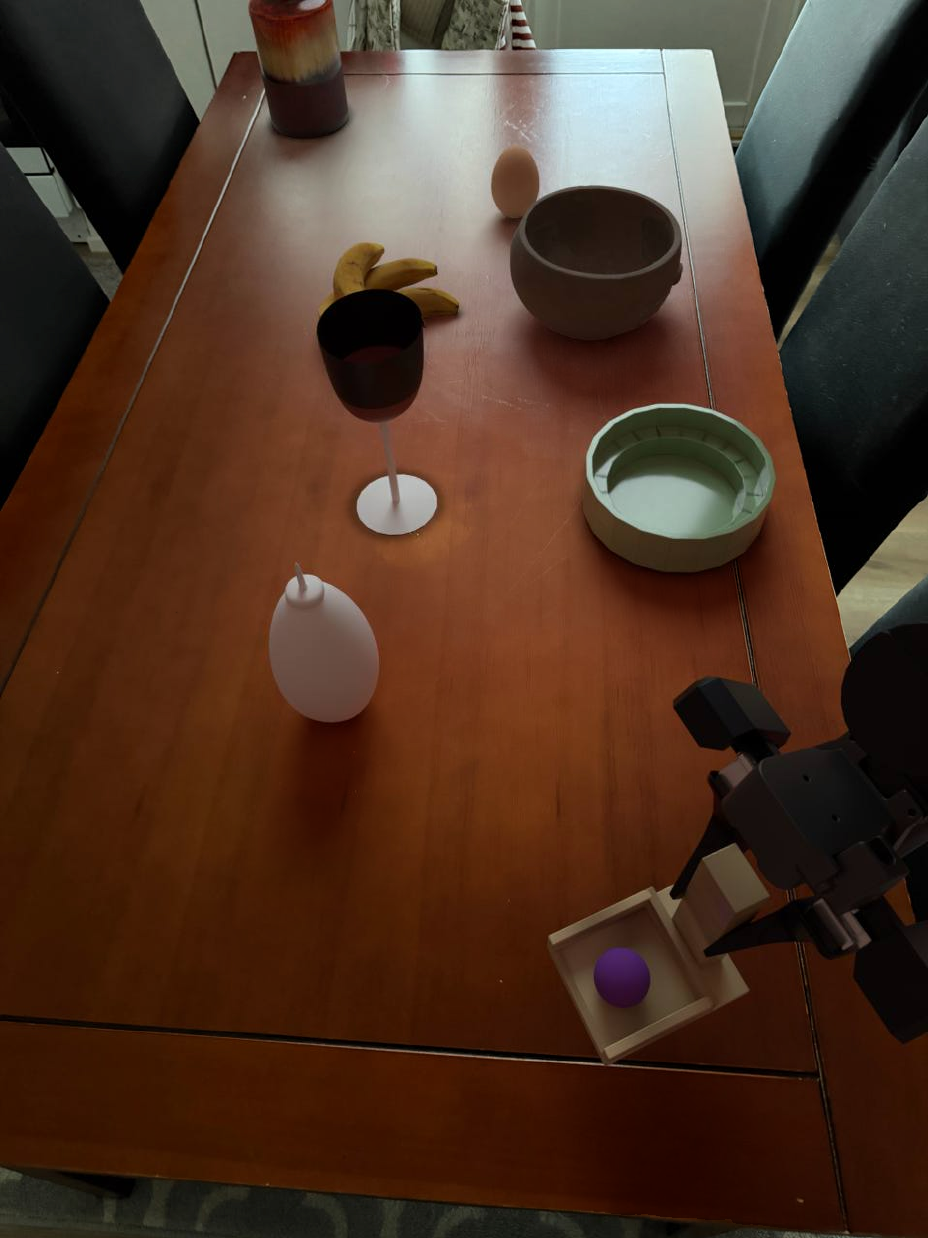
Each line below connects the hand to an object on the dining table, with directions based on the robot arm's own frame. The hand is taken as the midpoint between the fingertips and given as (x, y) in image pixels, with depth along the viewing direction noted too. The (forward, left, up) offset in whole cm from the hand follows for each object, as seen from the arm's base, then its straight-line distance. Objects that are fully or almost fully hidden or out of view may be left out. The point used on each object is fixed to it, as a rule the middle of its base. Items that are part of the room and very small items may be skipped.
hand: (690, 924), depth 49 cm
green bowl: (+9, -41, -13) cm, 44 cm away
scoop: (+1, +1, -7) cm, 7 cm away
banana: (+44, -57, -13) cm, 73 cm away
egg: (+38, -81, -13) cm, 90 cm away
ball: (+3, +3, -4) cm, 6 cm away
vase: (+73, -95, -13) cm, 121 cm away
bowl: (+24, -66, -13) cm, 71 cm away
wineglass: (+33, -33, -13) cm, 49 cm away
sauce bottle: (+29, -12, -13) cm, 34 cm away
